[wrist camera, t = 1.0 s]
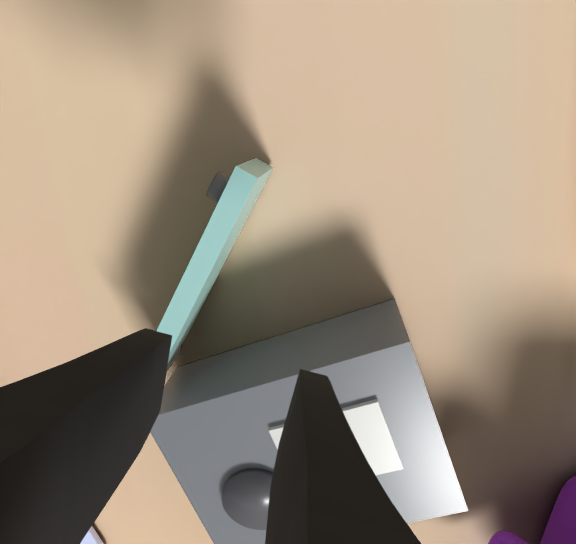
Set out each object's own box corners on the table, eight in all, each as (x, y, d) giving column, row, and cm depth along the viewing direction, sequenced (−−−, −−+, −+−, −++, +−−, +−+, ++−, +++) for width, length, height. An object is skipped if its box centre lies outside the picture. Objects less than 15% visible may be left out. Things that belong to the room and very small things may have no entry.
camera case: (241, 489, 23) (221, 566, 19) (177, 367, 21) (139, 424, 17) (444, 441, 21) (470, 517, 17) (394, 298, 19) (411, 345, 15)
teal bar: (176, 358, 21) (142, 410, 17) (148, 343, 21) (106, 392, 17) (274, 168, 17) (258, 179, 14) (241, 149, 17) (215, 154, 14)
